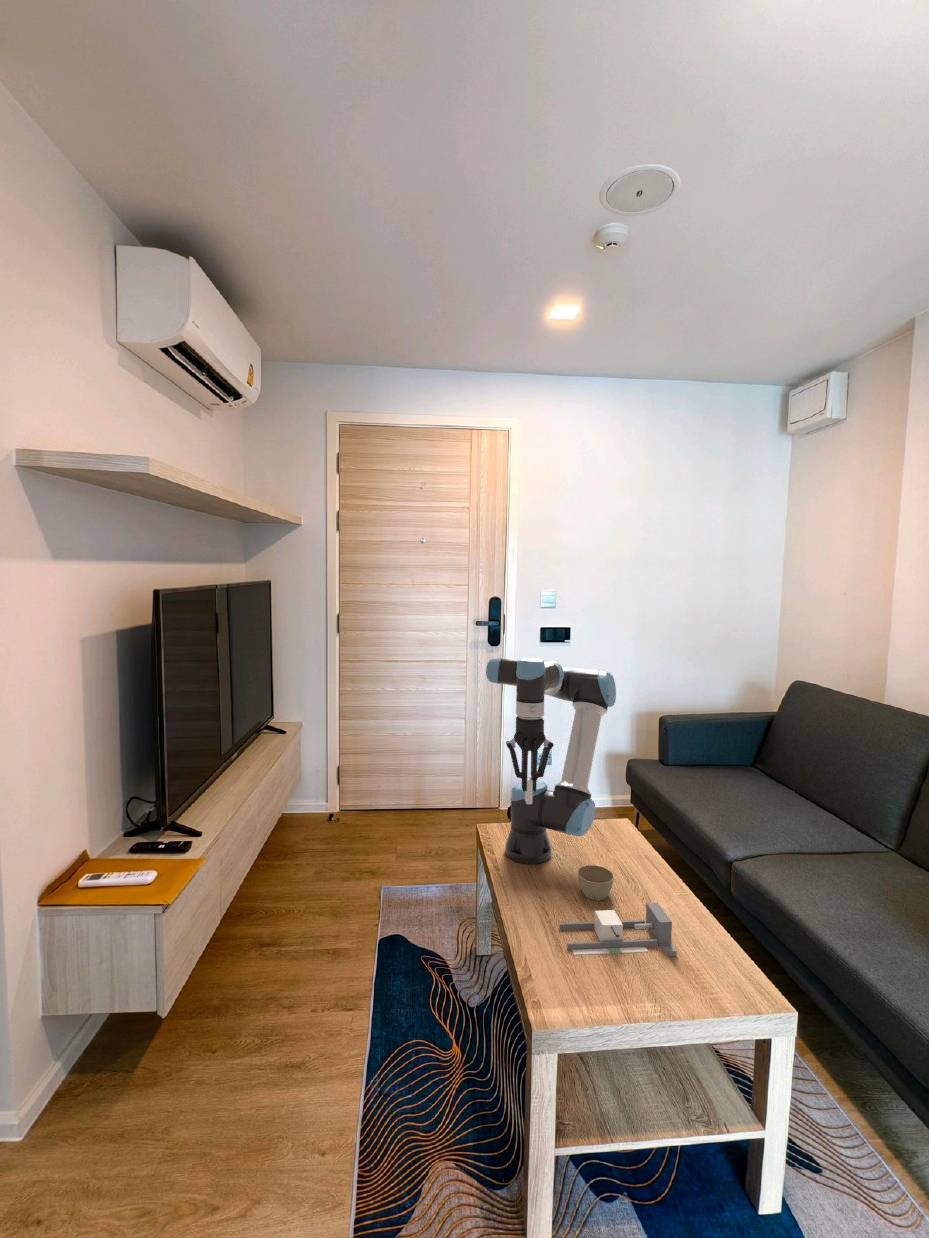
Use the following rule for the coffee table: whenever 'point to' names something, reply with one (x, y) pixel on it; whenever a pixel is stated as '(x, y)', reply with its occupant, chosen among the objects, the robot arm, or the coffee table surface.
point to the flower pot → (595, 881)
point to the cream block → (608, 926)
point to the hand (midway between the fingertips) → (528, 802)
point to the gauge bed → (654, 923)
